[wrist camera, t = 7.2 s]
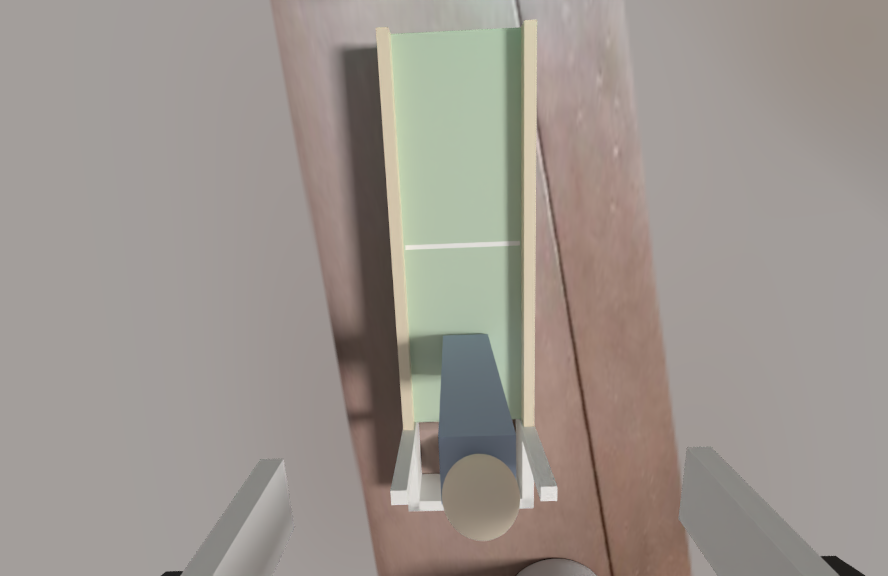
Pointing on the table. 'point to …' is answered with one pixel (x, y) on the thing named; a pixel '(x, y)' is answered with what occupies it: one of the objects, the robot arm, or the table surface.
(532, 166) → the pitch
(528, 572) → the mug
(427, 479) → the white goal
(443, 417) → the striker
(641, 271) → the table surface
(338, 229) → the table surface
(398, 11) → the table surface
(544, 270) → the table surface
